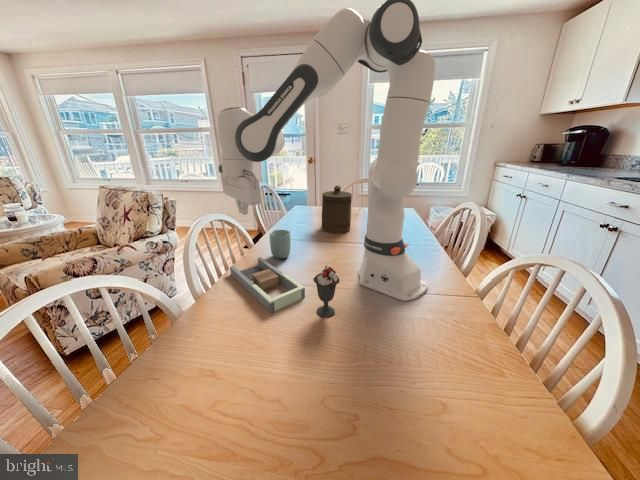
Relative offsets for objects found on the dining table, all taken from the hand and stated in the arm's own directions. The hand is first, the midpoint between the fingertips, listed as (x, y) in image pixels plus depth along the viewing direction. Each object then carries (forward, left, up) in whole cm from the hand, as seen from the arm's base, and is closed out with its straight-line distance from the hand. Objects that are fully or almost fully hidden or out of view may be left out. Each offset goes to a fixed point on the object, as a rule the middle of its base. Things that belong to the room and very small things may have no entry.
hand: (243, 213), depth 81 cm
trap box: (-11, 0, -21) cm, 24 cm away
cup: (+4, -15, -21) cm, 26 cm away
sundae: (-33, -6, -21) cm, 40 cm away
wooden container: (+15, -55, -21) cm, 61 cm away
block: (-11, 0, -21) cm, 24 cm away
